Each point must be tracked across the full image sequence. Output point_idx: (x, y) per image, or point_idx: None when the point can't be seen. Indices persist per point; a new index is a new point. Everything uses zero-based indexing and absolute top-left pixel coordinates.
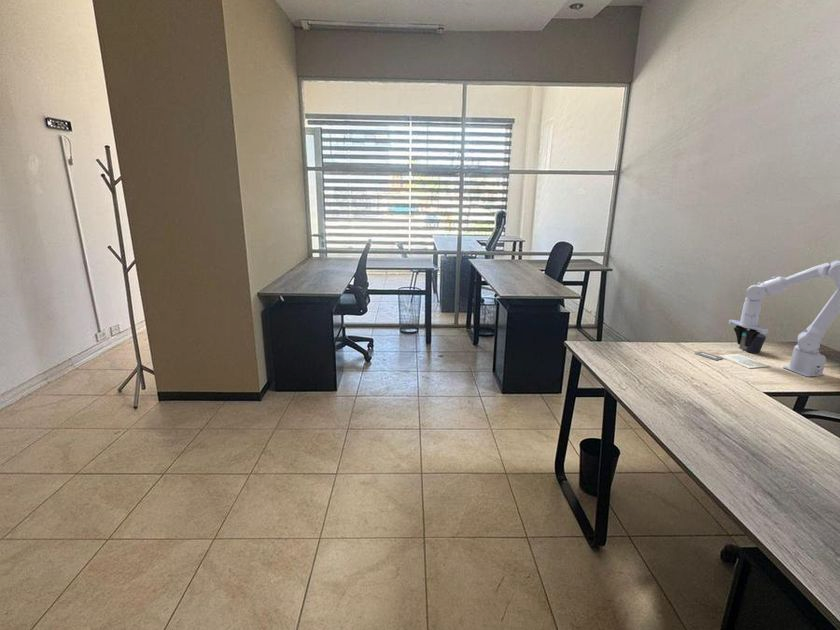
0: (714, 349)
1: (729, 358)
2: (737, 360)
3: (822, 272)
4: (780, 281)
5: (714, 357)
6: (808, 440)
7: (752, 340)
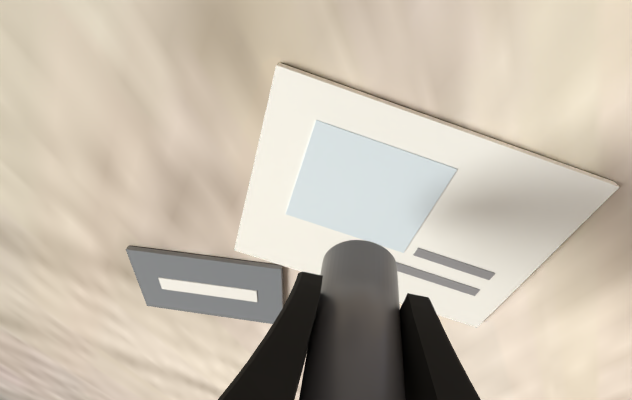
0: (90, 101)
1: (311, 255)
2: None
3: None
4: None
5: (249, 299)
6: None
7: (465, 393)
